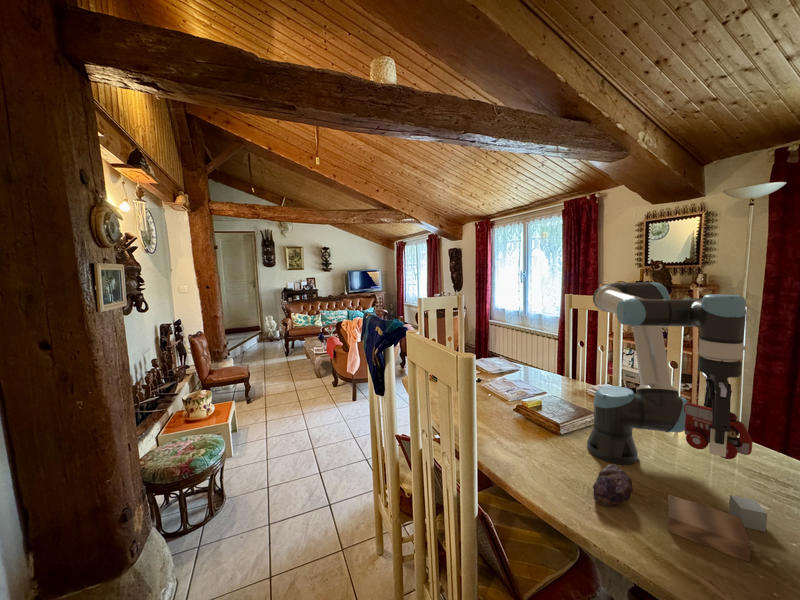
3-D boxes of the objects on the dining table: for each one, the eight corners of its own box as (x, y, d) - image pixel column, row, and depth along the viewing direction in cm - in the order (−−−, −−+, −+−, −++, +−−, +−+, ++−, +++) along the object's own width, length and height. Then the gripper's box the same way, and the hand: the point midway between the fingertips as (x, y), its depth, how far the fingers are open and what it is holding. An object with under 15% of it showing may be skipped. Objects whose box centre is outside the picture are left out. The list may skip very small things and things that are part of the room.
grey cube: (738, 526, 82) (740, 507, 81) (728, 512, 86) (729, 494, 86) (765, 531, 80) (767, 513, 79) (753, 517, 84) (755, 499, 84)
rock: (587, 503, 93) (629, 521, 85) (585, 478, 91) (628, 494, 84) (599, 478, 100) (638, 493, 93) (598, 454, 99) (637, 468, 91)
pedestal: (668, 531, 81) (669, 517, 80) (667, 507, 88) (668, 494, 88) (749, 562, 72) (750, 546, 72) (740, 532, 80) (741, 517, 79)
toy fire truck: (746, 466, 73) (749, 423, 72) (677, 443, 83) (679, 404, 82) (754, 456, 77) (757, 414, 76) (687, 435, 87) (689, 398, 86)
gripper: (754, 371, 67) (746, 473, 69) (731, 350, 84) (726, 432, 86) (705, 366, 72) (699, 461, 74) (693, 347, 88) (688, 425, 91)
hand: (713, 446), depth 80 cm, fingers closed on toy fire truck, 8 cm apart
